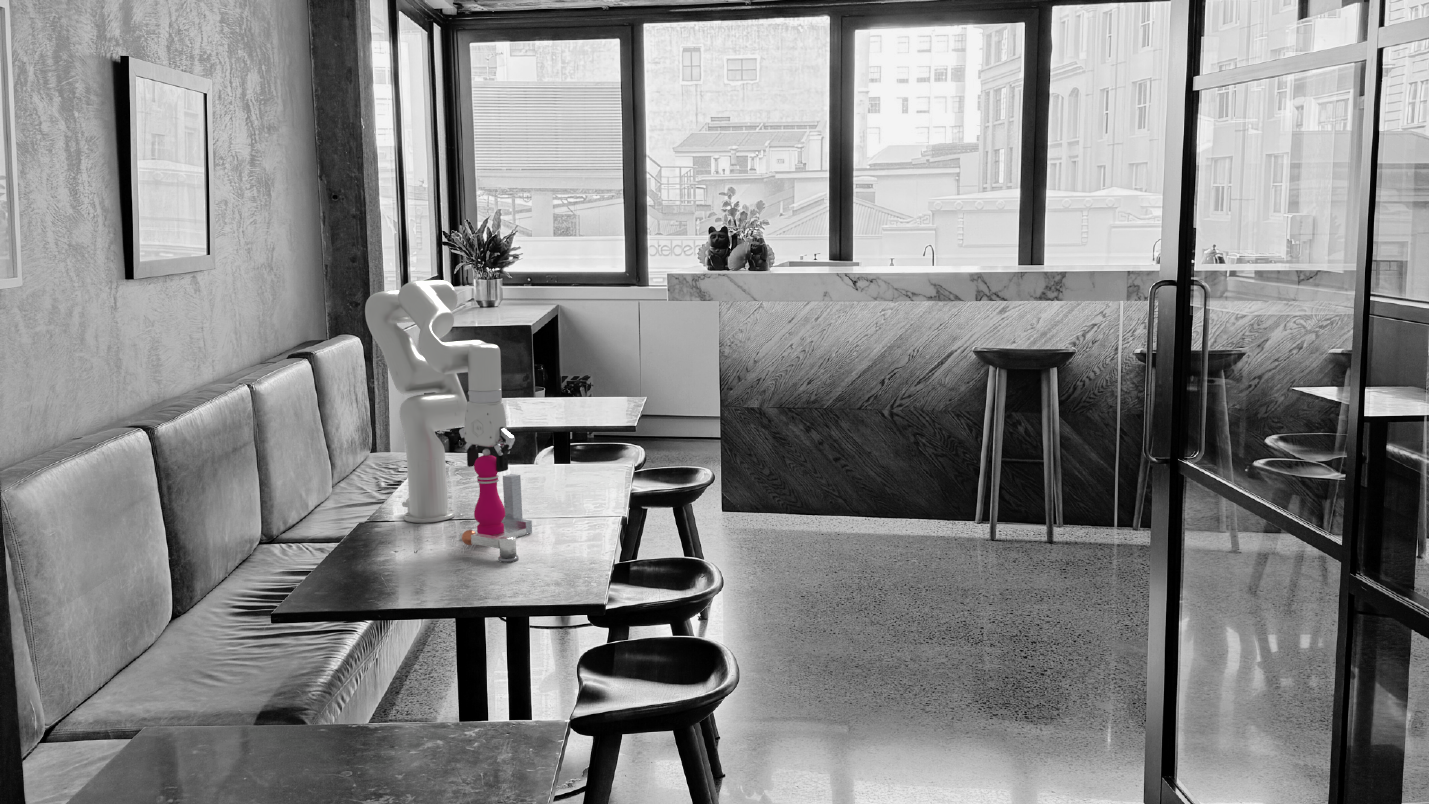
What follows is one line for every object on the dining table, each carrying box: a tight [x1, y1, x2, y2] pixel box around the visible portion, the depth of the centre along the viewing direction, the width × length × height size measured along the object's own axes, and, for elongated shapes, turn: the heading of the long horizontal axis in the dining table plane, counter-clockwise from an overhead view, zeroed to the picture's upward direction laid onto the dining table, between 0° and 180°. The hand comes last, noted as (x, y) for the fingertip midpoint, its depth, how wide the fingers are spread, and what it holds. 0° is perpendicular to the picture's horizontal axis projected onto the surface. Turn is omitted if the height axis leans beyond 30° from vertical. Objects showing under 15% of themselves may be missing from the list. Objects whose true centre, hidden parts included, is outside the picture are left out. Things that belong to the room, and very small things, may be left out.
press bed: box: [459, 473, 533, 563], centre depth 271 cm, size 26×26×13 cm
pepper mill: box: [473, 448, 505, 535], centre depth 275 cm, size 7×7×20 cm
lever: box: [461, 529, 518, 558], centre depth 260 cm, size 16×4×4 cm, turn 55°
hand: (487, 468), depth 277 cm, fingers open, 9 cm apart
